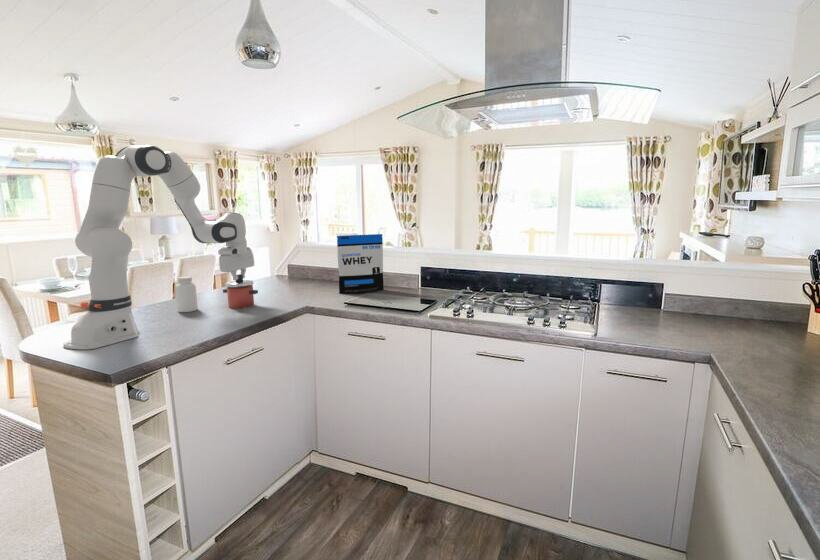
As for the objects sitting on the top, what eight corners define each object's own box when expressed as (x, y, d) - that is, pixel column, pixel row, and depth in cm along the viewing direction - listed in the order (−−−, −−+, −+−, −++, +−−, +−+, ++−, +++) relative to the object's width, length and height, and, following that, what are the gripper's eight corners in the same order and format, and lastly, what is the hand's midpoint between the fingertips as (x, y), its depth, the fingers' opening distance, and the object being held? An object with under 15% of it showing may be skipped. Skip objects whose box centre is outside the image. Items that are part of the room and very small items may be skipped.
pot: (250, 309, 192) (248, 289, 190) (217, 307, 196) (216, 288, 195) (264, 304, 202) (263, 285, 201) (233, 302, 207) (232, 283, 205)
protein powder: (337, 292, 228) (334, 235, 222) (380, 288, 237) (379, 233, 232) (341, 295, 219) (339, 236, 214) (386, 291, 228) (385, 234, 223)
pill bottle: (201, 308, 195) (198, 275, 192) (191, 312, 187) (187, 278, 185) (185, 308, 196) (181, 275, 193) (173, 312, 188) (170, 278, 185)
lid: (242, 287, 190) (242, 277, 189) (219, 286, 193) (218, 276, 192) (258, 282, 202) (258, 273, 201) (236, 281, 205) (235, 272, 204)
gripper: (245, 246, 205) (247, 275, 208) (215, 251, 186) (218, 282, 188) (256, 246, 204) (258, 275, 206) (227, 251, 184) (230, 283, 187)
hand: (239, 279), depth 197 cm, fingers closed on lid, 3 cm apart
